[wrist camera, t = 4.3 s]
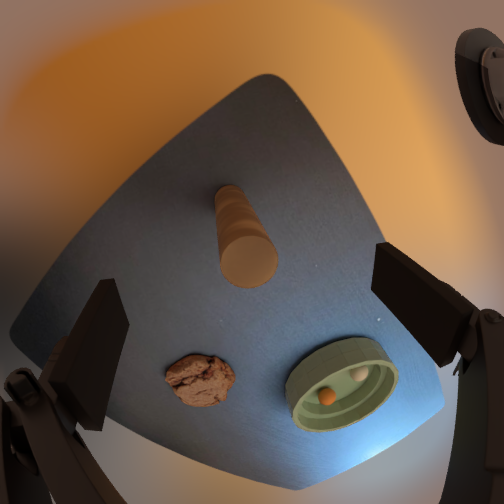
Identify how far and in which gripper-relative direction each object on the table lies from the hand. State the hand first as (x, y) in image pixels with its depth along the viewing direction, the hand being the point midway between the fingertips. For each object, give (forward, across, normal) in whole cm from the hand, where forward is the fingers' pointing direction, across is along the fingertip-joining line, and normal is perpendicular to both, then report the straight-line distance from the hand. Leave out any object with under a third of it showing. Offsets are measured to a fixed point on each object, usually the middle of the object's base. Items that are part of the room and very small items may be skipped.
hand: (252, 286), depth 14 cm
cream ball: (+15, +17, -28) cm, 36 cm away
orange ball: (+15, +12, -32) cm, 38 cm away
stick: (+17, 0, 0) cm, 17 cm away
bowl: (+17, +14, -30) cm, 37 cm away
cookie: (+18, -7, -25) cm, 31 cm away
